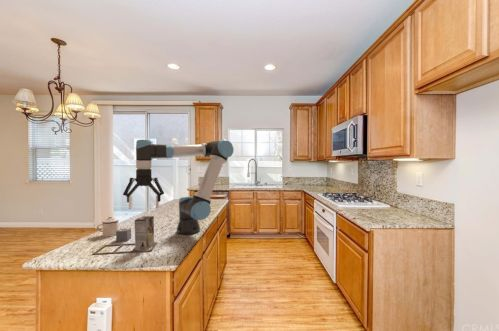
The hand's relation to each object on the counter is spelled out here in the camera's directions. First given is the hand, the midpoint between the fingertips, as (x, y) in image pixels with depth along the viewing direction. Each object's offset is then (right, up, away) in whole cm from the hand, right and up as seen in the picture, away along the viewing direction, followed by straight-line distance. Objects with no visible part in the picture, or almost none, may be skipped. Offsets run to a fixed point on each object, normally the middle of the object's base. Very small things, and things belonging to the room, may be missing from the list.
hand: (144, 208), depth 125 cm
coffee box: (0, -22, 0) cm, 22 cm away
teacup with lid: (-34, -22, +23) cm, 46 cm away
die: (-18, -21, +13) cm, 31 cm away
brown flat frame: (-9, -21, -1) cm, 23 cm away
